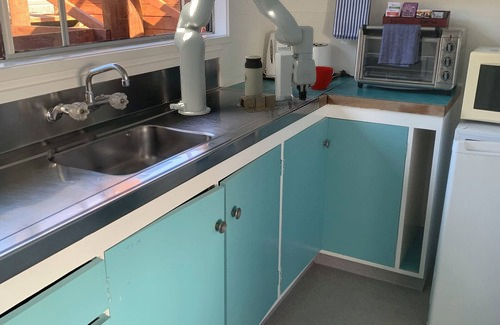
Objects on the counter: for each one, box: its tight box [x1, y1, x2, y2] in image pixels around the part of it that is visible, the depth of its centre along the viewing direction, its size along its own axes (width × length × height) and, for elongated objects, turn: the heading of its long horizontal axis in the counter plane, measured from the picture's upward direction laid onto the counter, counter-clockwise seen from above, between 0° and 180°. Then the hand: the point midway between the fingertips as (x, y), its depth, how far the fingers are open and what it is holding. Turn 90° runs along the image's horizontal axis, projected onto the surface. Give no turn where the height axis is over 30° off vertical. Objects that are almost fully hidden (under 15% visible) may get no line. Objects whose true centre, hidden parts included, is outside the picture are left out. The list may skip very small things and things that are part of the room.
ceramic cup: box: [309, 65, 334, 91], centre depth 242 cm, size 13×17×10 cm
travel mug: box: [244, 54, 264, 96], centre depth 225 cm, size 8×8×18 cm
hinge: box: [235, 92, 281, 114], centre depth 206 cm, size 14×13×5 cm
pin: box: [276, 93, 295, 103], centre depth 210 cm, size 16×3×3 cm, turn 115°
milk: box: [274, 46, 294, 97], centre depth 224 cm, size 6×6×22 cm
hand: (302, 99), depth 215 cm, fingers closed
